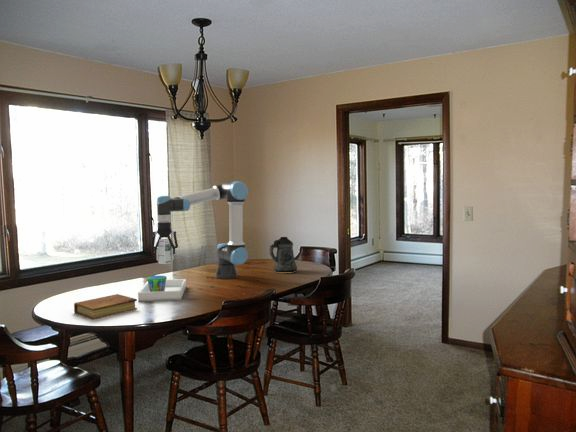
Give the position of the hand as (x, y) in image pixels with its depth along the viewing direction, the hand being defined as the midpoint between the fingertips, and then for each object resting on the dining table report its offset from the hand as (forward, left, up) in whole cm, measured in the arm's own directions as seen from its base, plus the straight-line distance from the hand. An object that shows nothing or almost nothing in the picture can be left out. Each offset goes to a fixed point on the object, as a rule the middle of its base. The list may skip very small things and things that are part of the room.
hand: (165, 259), depth 272 cm
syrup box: (0, 0, -2) cm, 2 cm away
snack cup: (+3, +16, -17) cm, 24 cm away
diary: (+24, +42, -19) cm, 52 cm away
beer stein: (-77, -44, -18) cm, 91 cm away
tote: (0, +10, -18) cm, 21 cm away
